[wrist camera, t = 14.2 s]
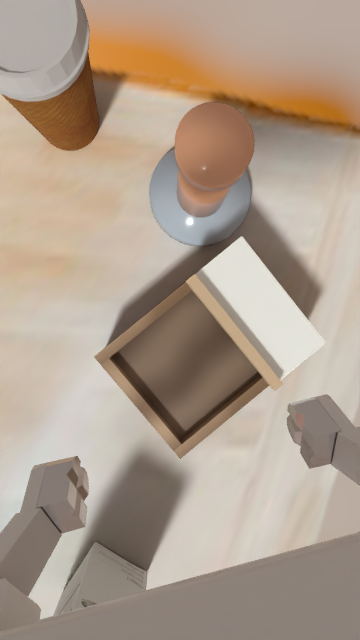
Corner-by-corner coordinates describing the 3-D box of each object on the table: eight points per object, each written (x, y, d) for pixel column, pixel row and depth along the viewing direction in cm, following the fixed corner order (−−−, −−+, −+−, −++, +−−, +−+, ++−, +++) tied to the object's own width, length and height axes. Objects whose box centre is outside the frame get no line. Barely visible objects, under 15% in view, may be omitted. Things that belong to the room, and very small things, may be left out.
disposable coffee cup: (113, 168, 33) (83, 89, 21) (24, 163, 33) (-57, 80, 21) (115, 79, 33) (86, -51, 21) (25, 73, 33) (-56, -63, 21)
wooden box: (104, 349, 34) (94, 356, 29) (229, 248, 34) (239, 237, 29) (178, 437, 35) (180, 458, 30) (299, 337, 35) (321, 341, 30)
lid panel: (185, 282, 29) (186, 280, 27) (239, 237, 29) (244, 233, 28) (268, 385, 30) (275, 390, 28) (321, 341, 30) (331, 343, 28)
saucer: (129, 188, 34) (128, 184, 33) (206, 125, 34) (207, 120, 33) (192, 266, 34) (193, 265, 33) (268, 204, 34) (271, 201, 33)
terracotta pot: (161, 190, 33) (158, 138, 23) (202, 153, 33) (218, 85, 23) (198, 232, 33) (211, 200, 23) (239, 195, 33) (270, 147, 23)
